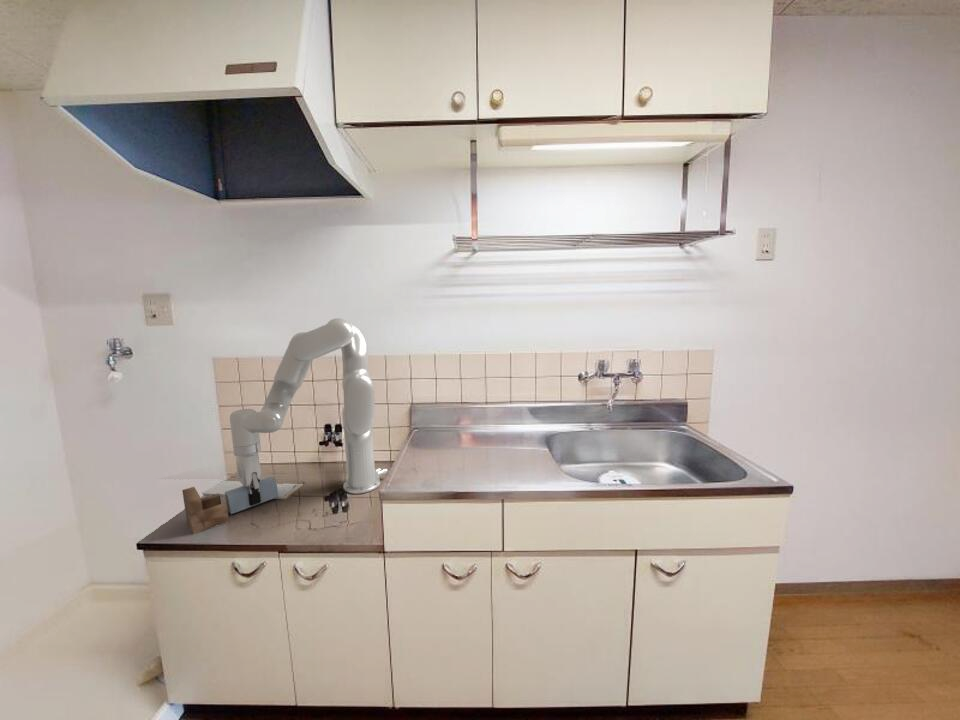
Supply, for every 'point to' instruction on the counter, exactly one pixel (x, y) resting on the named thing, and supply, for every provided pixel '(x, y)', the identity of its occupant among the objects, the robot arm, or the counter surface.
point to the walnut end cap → (203, 510)
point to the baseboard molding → (225, 486)
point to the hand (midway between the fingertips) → (253, 500)
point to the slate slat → (240, 498)
